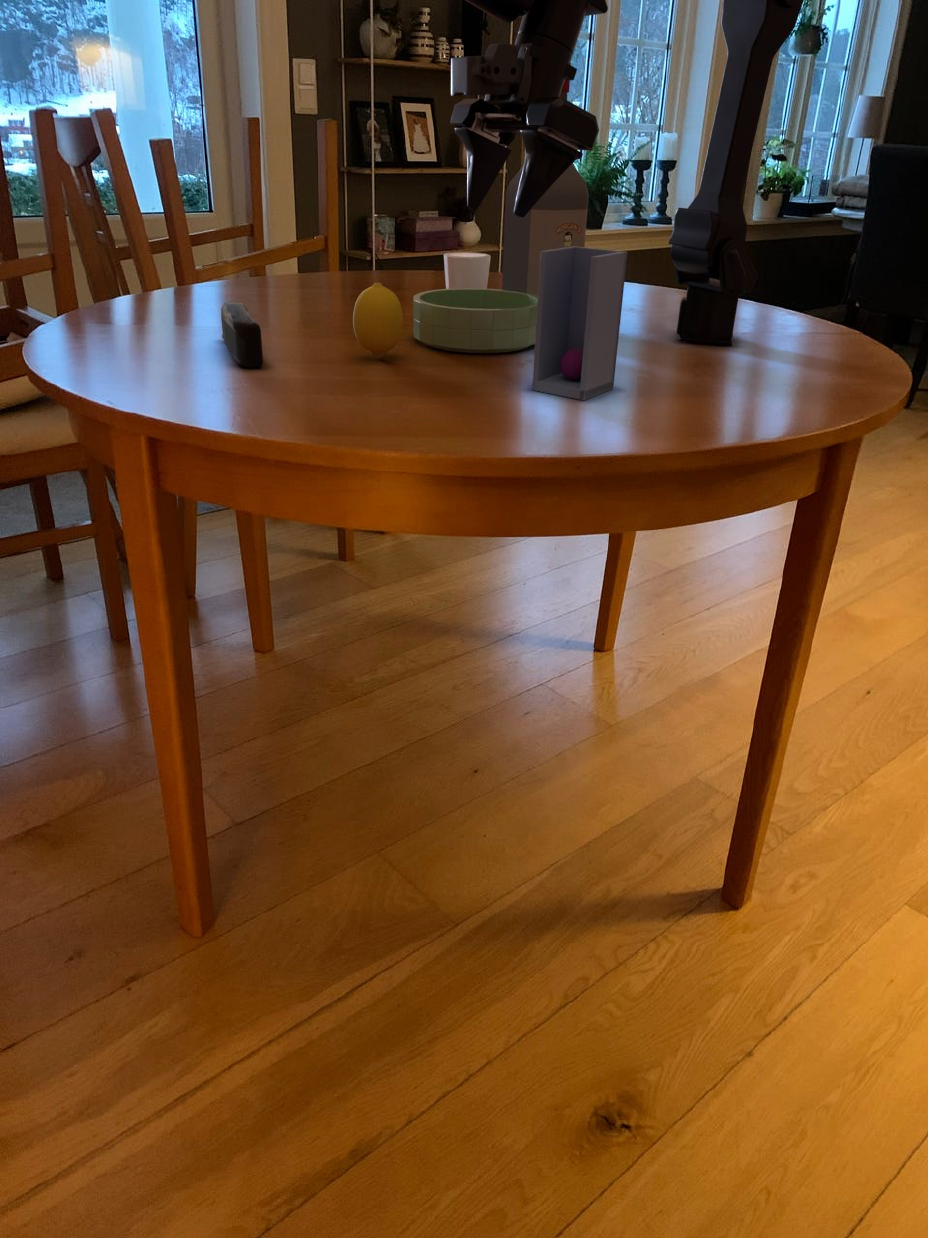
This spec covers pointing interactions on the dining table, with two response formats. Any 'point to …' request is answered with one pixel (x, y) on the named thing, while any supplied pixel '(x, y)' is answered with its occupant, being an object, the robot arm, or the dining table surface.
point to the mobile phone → (241, 335)
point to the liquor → (543, 226)
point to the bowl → (475, 319)
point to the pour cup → (578, 318)
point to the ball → (572, 364)
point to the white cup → (466, 270)
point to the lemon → (378, 319)
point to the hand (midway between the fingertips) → (494, 212)
